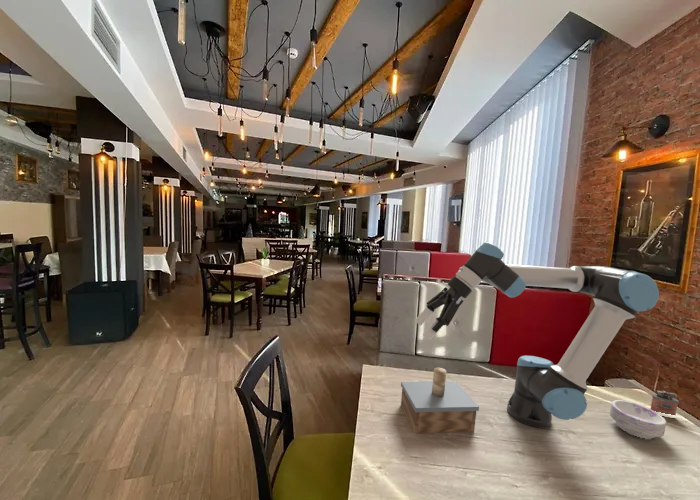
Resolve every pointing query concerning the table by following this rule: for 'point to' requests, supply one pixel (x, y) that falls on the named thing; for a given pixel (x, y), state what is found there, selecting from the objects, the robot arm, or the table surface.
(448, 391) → the lid
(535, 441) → the table surface
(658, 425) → the paper bowls
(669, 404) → the lighter
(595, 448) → the table surface
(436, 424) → the brown wooden open box
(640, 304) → the robot arm
